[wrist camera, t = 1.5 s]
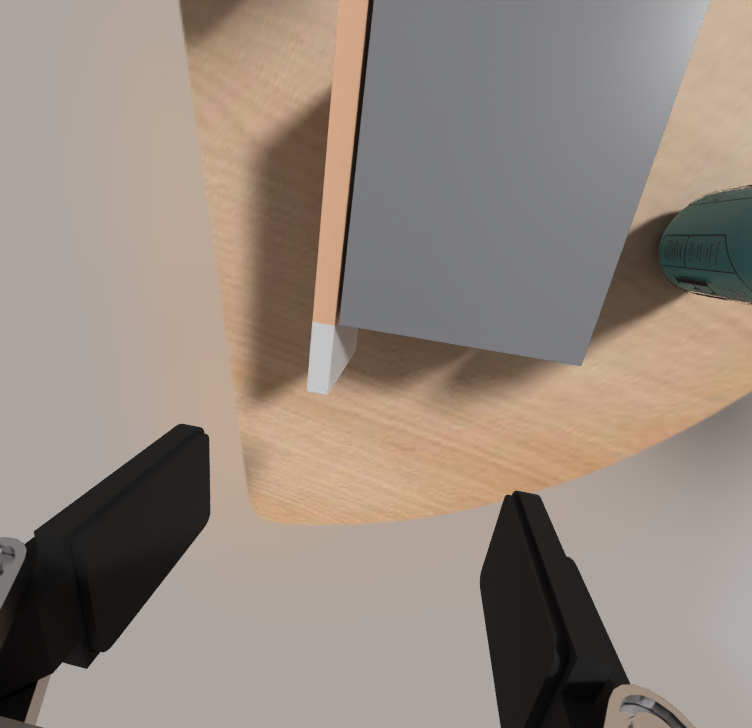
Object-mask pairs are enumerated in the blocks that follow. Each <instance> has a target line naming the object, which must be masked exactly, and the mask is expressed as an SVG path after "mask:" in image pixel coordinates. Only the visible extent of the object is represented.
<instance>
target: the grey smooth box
mask: <svg viewBox="0 0 752 728" xmlns="http://www.w3.org/2000/svg"><path fill="white" fill-rule="evenodd" d="M709 2H710V0H374V5H373V14H372V23H371V32H370V42H369V51H368V60H367V69H366V79H365V88H364V97H363V107H362V116H361V125H360V134H359V144H358V153H357V162H356V171H355V181H354V190H353V199H352V208H351V218H350V227H349V236H348V245H347V255H346V264H345V273H344V282H343V292H342V301H341V310H340V319H339V325H344V326H350V327H356V328H362V329H367V330H373V331H379V332H385V333H391V334H397V335H402V336H408V337H414V338H420V339H426V340H432V341H437V342H443V343H449V344H455V345H461V346H467V347H473V348H478V349H484V350H490V351H496V352H502V353H508V354H513V355H519V356H525V357H531V358H537V359H543V360H548V361H554V362H560V363H566V364H572V365H578V366H581V365H582V363H583V360H584V357H585V354H586V351H587V348H588V346H589V343H590V340H591V337H592V334H593V331H594V329H595V326H596V323H597V320H598V317H599V314H600V311H601V309H602V306H603V303H604V300H605V297H606V294H607V292H608V289H609V286H610V283H611V280H612V277H613V275H614V272H615V269H616V266H617V263H618V260H619V258H620V255H621V252H622V249H623V246H624V243H625V240H626V238H627V235H628V232H629V229H630V226H631V223H632V221H633V218H634V215H635V212H636V209H637V206H638V204H639V201H640V198H641V195H642V192H643V189H644V187H645V184H646V181H647V178H648V175H649V172H650V169H651V167H652V164H653V161H654V158H655V155H656V152H657V150H658V147H659V144H660V141H661V138H662V135H663V133H664V130H665V127H666V124H667V121H668V118H669V116H670V113H671V110H672V107H673V104H674V101H675V98H676V96H677V93H678V90H679V87H680V84H681V81H682V79H683V76H684V73H685V70H686V67H687V64H688V62H689V59H690V56H691V53H692V50H693V47H694V45H695V42H696V39H697V36H698V33H699V30H700V27H701V25H702V22H703V19H704V16H705V13H706V10H707V8H708V5H709Z"/></svg>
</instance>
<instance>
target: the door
mask: <svg viewBox="0 0 752 728" xmlns="http://www.w3.org/2000/svg"><path fill="white" fill-rule="evenodd" d="M373 5H374V0H339V6H338V18H337V30H336V42H335V54H334V66H333V78H332V90H331V103H330V115H329V127H328V139H327V151H326V163H325V175H324V187H323V199H322V212H321V224H320V236H319V248H318V260H317V272H316V284H315V296H314V308H313V321H312V333H311V345H310V357H309V369H308V381H307V391H309V392H314V393H320V394H325V395H328V393H329V392H330V390H331V389H332V387H333V386H334V384H335V383H336V381H337V379H338V378H339V376H340V375H341V373H342V372H343V370H344V369H345V367H346V365H347V364H348V362H349V361H350V359H351V358H352V356H353V355H354V353H355V351H356V344H357V336H358V328H356V327H350V326H344V325H339V319H340V310H341V301H342V292H343V282H344V273H345V264H346V255H347V245H348V236H349V227H350V218H351V208H352V199H353V190H354V181H355V171H356V162H357V153H358V144H359V134H360V125H361V116H362V107H363V97H364V88H365V79H366V69H367V60H368V51H369V42H370V32H371V23H372V14H373Z"/></svg>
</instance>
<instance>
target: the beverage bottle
mask: <svg viewBox="0 0 752 728" xmlns="http://www.w3.org/2000/svg"><path fill="white" fill-rule="evenodd" d="M748 186H749V187H750V188H747V187H745V188H744V189H739V187H740V186H739V187H737V188H738V190H737V189H736V188H731V189H733V190H731V189H729V188H728V189H729V190H731V191H729V190H728V191H727V190H726V191H727V192H725V190H724V192H721V193H718V192H717V193H715V194H713V193H712V192H711V193H712V195H711V194H710V195H708V196H705V197H703V198H701V199H699V198H698V199H699V200H697V199H696V200H697V201H695V202H694V201H693V202H694V203H692V204H691V203H690V204H689V206H687V207H686V208H685V209H683V210H682V211H681V212H680V213H678V214H677V215H676V216H675V217H674V218H673V220H672V221H671V222H670V223H669V225H668V226H667V228H666V229H665V231H664V233H663V235H662V238H661V241H660V245H659V263H660V266H661V269H662V271H663V273H664V274H665V276H666V277H667V279H668V280H670V281H671V282H673V283H674V284H675V285H677V286H678V287H680V288H681V289H682V288H683V290H684V289H686V290H689V291H694V292H699V293H705V294H706V295H704V294H698V293H694V294H697V295H701V296H702V295H703V296H707V297H712V298H718V299H723V300H726V299H729V298H731V299H730V300H736V299H737V300H738V301H741V300H742V301H743V302H744V301H745V302H747V303H748V302H752V185H748ZM741 188H743V187H742V186H741ZM734 189H736V190H734ZM722 191H723V190H722ZM714 192H715V191H714ZM708 194H709V193H708ZM706 195H707V194H706ZM675 287H676V286H675ZM684 292H685V290H684ZM687 293H688V291H687ZM689 293H690V292H689ZM692 293H693V292H692ZM710 295H712V296H710ZM714 296H717V297H714ZM719 296H721V298H720V297H719ZM722 297H726V298H722ZM728 301H729V300H728ZM738 301H737V302H738ZM743 302H742V303H743ZM747 303H746V304H747ZM749 304H752V303H749ZM747 305H748V304H747Z"/></svg>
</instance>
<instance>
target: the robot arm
mask: <svg viewBox="0 0 752 728" xmlns="http://www.w3.org/2000/svg"><path fill="white" fill-rule="evenodd" d="M209 464H210V463H209V436H208V435H207V434H204V430H203V429H202V428H200V427H196V426H191V425H186V424H179V425H177V426H175V427H174V428H173V429H171V430H170V431H169V432H168V433H166V434H165V435H163V436H162V437H161V438H159V439H158V440H157V441H155V442H154V443H153V444H151V445H150V446H149V447H147V448H146V449H144V450H143V451H142V452H140V453H139V454H138V455H136V456H135V457H134V458H132V459H131V460H130V461H128V462H127V463H126V464H124V465H123V466H121V467H120V468H119V469H117V470H116V471H115V472H113V473H112V474H111V475H109V476H108V477H107V478H106V479H104V480H103V481H101V482H100V483H99V484H97V485H96V486H94V487H93V488H92V489H90V490H89V491H88V492H86V493H85V494H84V495H82V496H81V497H80V498H78V499H77V500H76V501H74V502H73V503H72V504H70V505H69V506H68V507H66V508H65V509H63V510H62V511H61V512H60V513H58V514H57V515H55V516H54V517H53V518H51V519H50V520H49V521H47V522H46V523H45V524H43V525H42V526H41V527H39V528H38V529H37V530H35V531H34V535H35V537H34V538H32V539H31V540H30V541H28V542H27V543H26V544H24V543H22V542H21V541H19V540H17V539H14V538H7V537H2V538H0V728H42V727H38V726H35V724H36V721H37V718H38V715H39V711H40V708H41V705H42V702H43V698H44V695H45V692H46V688H47V685H48V682H49V679H50V676H51V674H52V673H53V672H54V671H55V670H56V669H57V668H58V667H59V665H60V664H61V663H62V662H63V663H67V664H70V665H74V666H78V667H82V668H86V669H87V668H88V667H89V666H90V664H91V663H92V662H93V661H94V659H95V658H96V657H97V655H98V654H99V653H100V652H105V651H107V650H108V649H110V648H111V647H112V645H113V644H114V643H115V642H116V640H117V639H118V638H119V637H120V635H121V634H122V633H123V631H124V630H125V629H126V628H127V626H128V625H129V624H130V622H131V621H132V620H133V619H134V617H135V616H136V615H137V613H138V612H139V611H140V609H141V608H142V607H143V606H144V604H145V603H146V602H147V601H148V599H149V598H150V597H151V595H152V594H153V593H154V591H155V590H156V588H158V586H159V585H160V584H161V583H162V581H163V580H164V579H165V577H166V576H167V575H168V574H169V572H170V571H171V570H172V568H173V567H174V566H175V564H176V563H177V562H178V561H179V559H180V558H181V557H182V555H183V554H184V553H185V552H186V550H187V549H188V548H189V546H190V545H191V544H192V542H193V541H194V540H195V539H196V537H197V536H198V535H199V533H200V532H201V531H202V530H203V528H204V527H205V526H206V524H207V522H208V519H209V516H210V465H209ZM480 590H481V596H482V604H483V610H484V617H485V624H486V631H487V636H488V644H489V651H490V657H491V664H492V670H493V678H494V684H495V691H496V698H497V705H498V711H499V718H500V725H501V728H695V727H694V725H693V724H692V723H691V722H690V721H689V720H688V719H687V718H686V717H685V716H684V715H683V714H682V713H681V712H680V711H679V710H678V709H677V708H676V707H674V706H673V705H672V704H670V703H669V702H668V701H667V700H666V699H664V698H663V697H661V696H659V695H658V694H656V693H654V692H653V691H651V690H649V689H646V688H643V687H640V686H637V685H634V684H632V685H631V684H630V682H629V680H628V678H627V676H626V673H625V671H624V669H623V667H622V665H621V662H620V660H619V658H618V656H617V654H616V651H615V649H614V647H613V645H612V643H611V640H610V638H609V636H608V634H607V632H606V629H605V627H604V625H603V623H602V621H601V618H600V616H599V614H598V612H597V610H596V608H595V605H594V603H593V601H592V598H591V596H590V594H589V592H588V590H587V587H586V585H585V583H584V581H583V579H582V576H581V574H580V572H579V570H578V568H577V566H576V564H575V562H574V561H573V560H572V559H571V558H570V557H566V555H565V553H564V550H563V548H562V546H561V543H560V541H559V539H558V536H557V534H556V532H555V530H554V527H553V525H552V523H551V521H550V518H549V516H548V514H547V511H546V509H545V507H544V504H543V502H542V500H541V498H540V496H538V495H536V494H531V493H526V492H521V491H514V493H513V494H512V496H511V495H506V496H505V498H504V501H503V504H502V507H501V511H500V514H499V517H498V520H497V523H496V526H495V530H494V532H493V536H492V539H491V542H490V545H489V548H488V552H487V555H486V558H485V561H484V564H483V567H482V570H481V576H480Z"/></svg>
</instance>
